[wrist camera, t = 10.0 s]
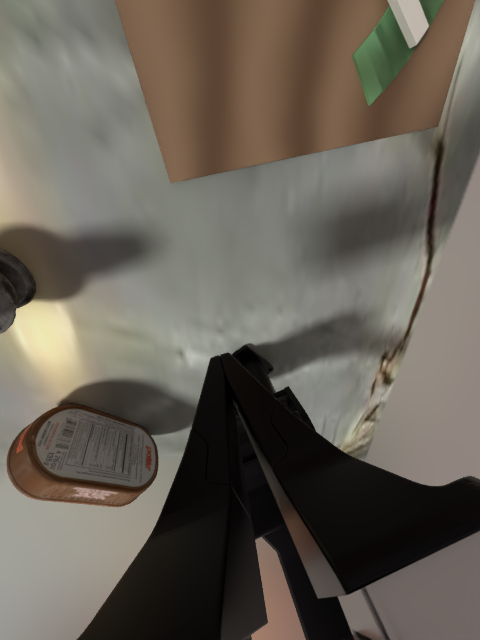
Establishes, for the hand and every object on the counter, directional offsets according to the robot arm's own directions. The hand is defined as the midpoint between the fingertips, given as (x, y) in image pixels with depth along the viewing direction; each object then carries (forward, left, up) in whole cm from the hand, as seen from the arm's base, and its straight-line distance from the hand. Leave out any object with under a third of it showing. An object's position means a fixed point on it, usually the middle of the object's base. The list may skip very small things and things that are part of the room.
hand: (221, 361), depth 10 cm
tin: (-6, +22, -12) cm, 26 cm away
